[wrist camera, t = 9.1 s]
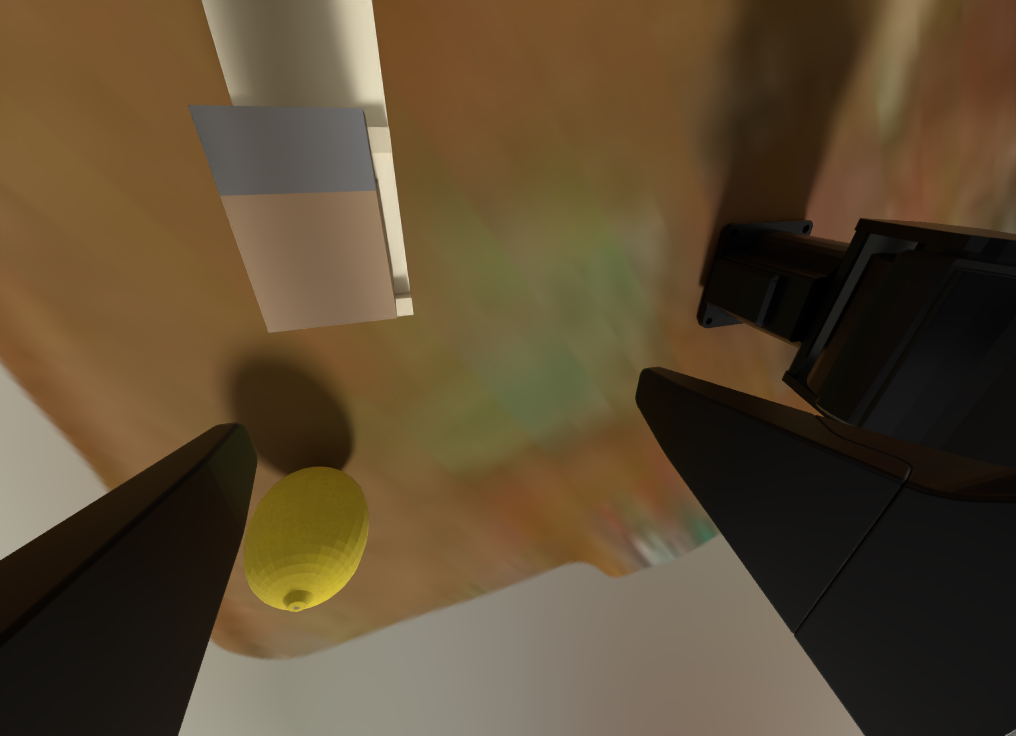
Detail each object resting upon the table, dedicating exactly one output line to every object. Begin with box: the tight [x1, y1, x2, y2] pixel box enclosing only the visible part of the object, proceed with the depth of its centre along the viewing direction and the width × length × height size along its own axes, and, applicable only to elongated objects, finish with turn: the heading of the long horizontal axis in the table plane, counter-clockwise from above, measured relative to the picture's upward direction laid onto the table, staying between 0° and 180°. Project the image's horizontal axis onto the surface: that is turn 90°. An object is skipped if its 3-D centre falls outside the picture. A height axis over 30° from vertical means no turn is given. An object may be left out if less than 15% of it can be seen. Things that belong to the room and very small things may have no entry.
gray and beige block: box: [188, 105, 397, 333], centre depth 12 cm, size 4×5×6 cm, turn 0°
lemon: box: [244, 467, 369, 612], centre depth 19 cm, size 6×6×8 cm
